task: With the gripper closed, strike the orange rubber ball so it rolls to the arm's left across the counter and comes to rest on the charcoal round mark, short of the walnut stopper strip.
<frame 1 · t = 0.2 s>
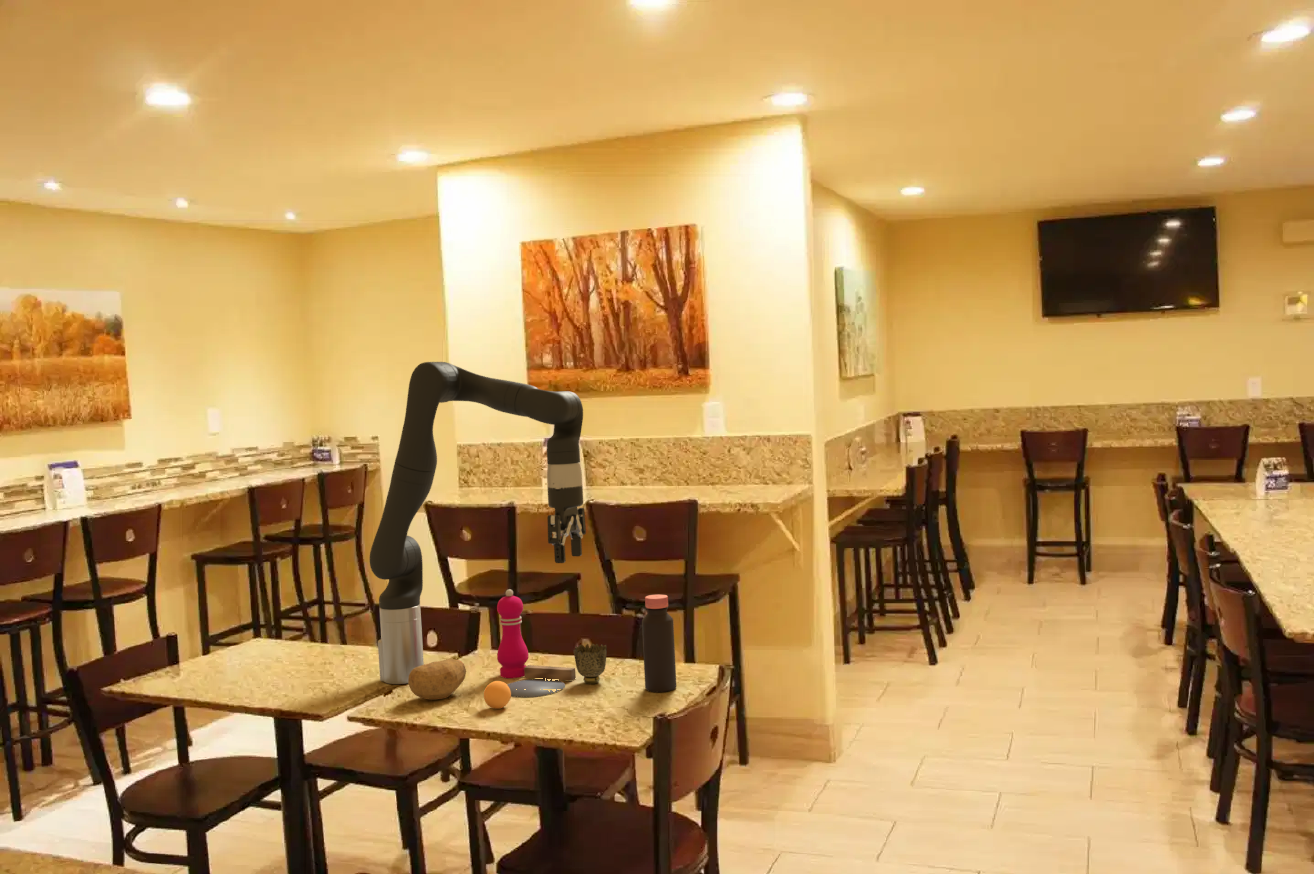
hand: (568, 559, 232), 29 cm above the table, tool pointing down, fingers open, 8 cm apart
ball: (497, 694, 224), on the table
potato: (439, 698, 234), on the table
stopper strip: (550, 678, 245), on the table
cup: (591, 683, 240), on the table
pepper mill: (513, 675, 250), on the table
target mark: (533, 688, 238), on the table
bottle: (661, 689, 233), on the table
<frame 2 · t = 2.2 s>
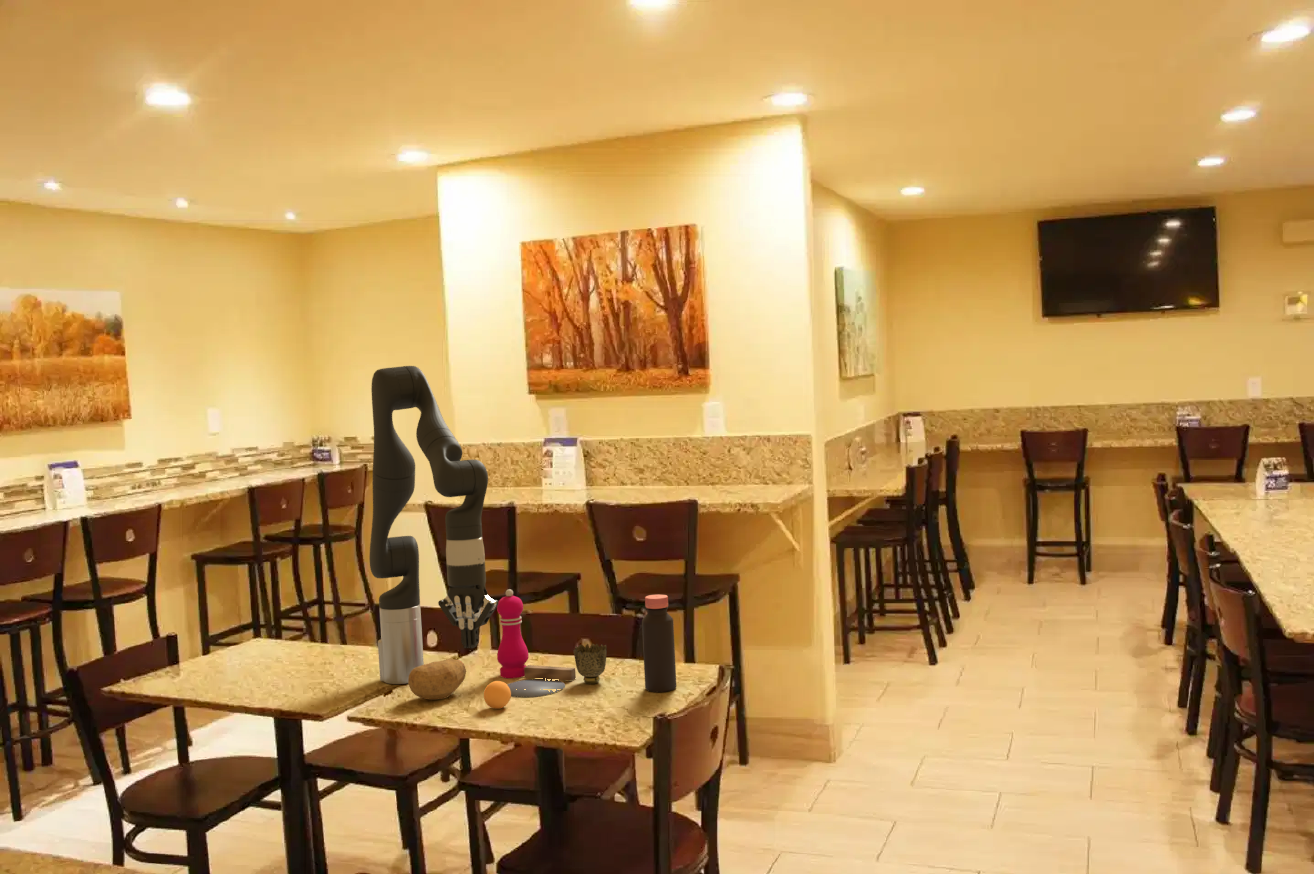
hand: (470, 646, 215), 15 cm above the table, tool pointing down, fingers closed
nothing on the table moved.
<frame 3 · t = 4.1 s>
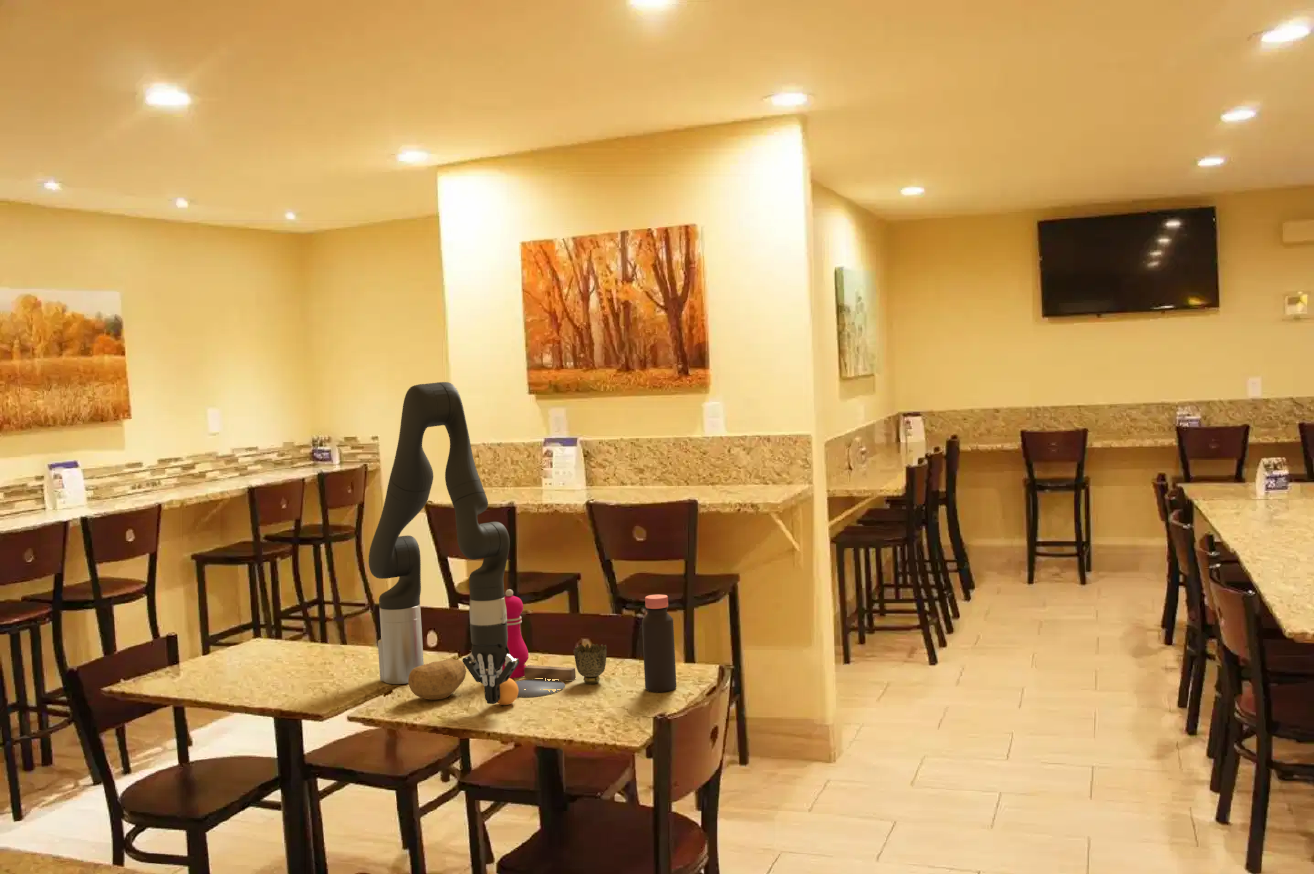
hand: (493, 702, 223), 1 cm above the table, tool pointing down, fingers closed
ball: (505, 691, 226), on the table, touching gripper
everything else where it was.
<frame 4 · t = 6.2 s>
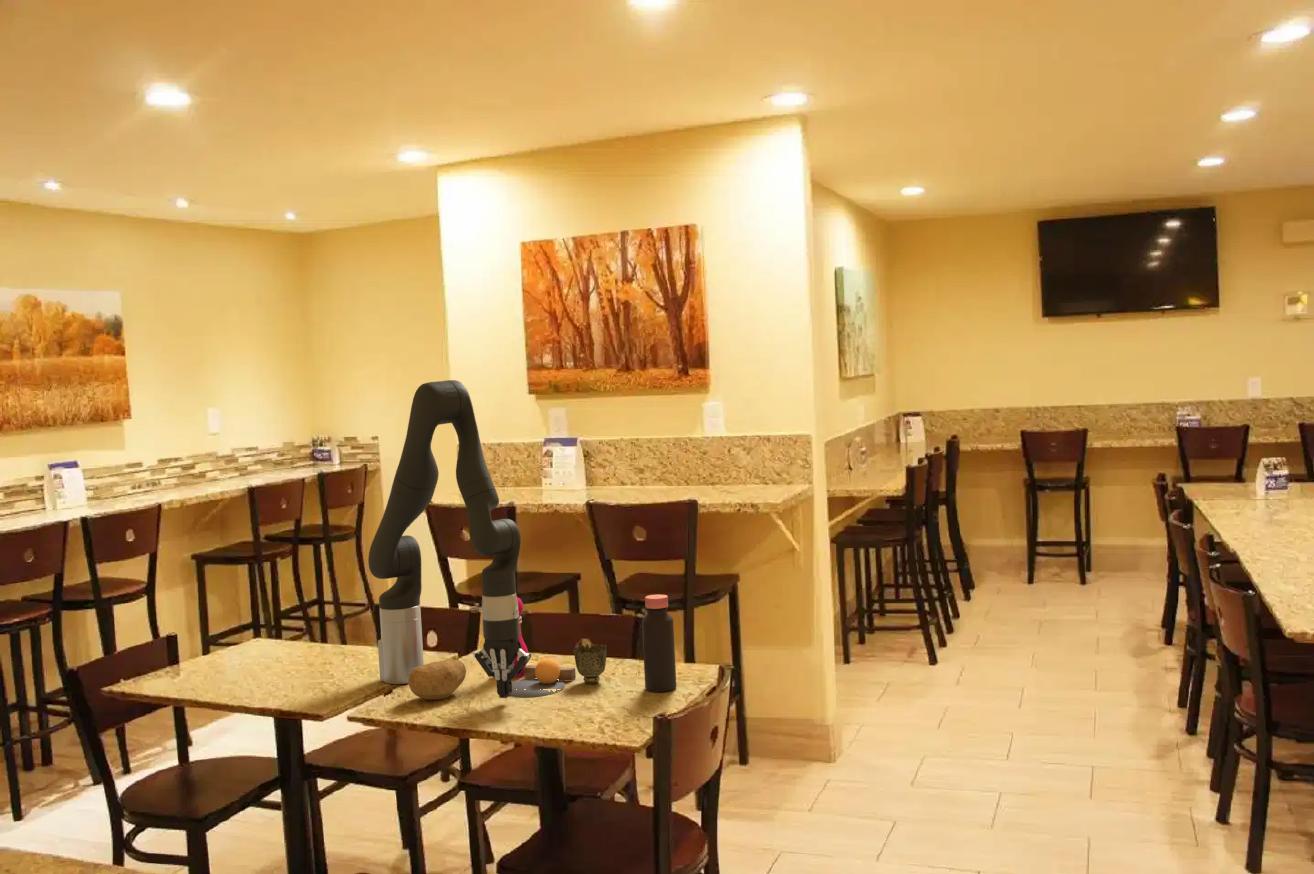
hand: (505, 696, 227), 2 cm above the table, tool pointing down, fingers closed
ball: (547, 671, 241), on the table
everything else where it was.
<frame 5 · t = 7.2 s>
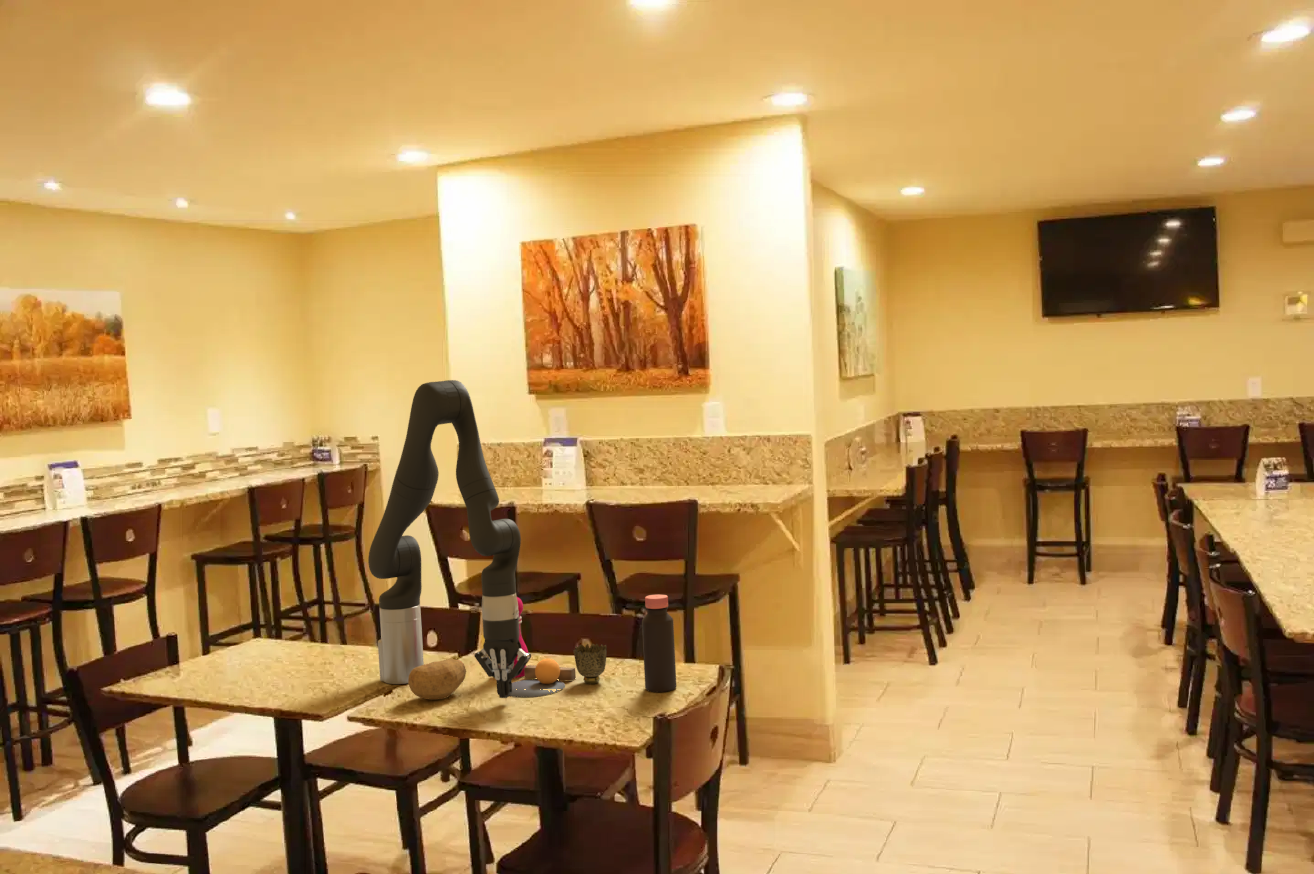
hand: (505, 696, 227), 2 cm above the table, tool pointing down, fingers closed
nothing on the table moved.
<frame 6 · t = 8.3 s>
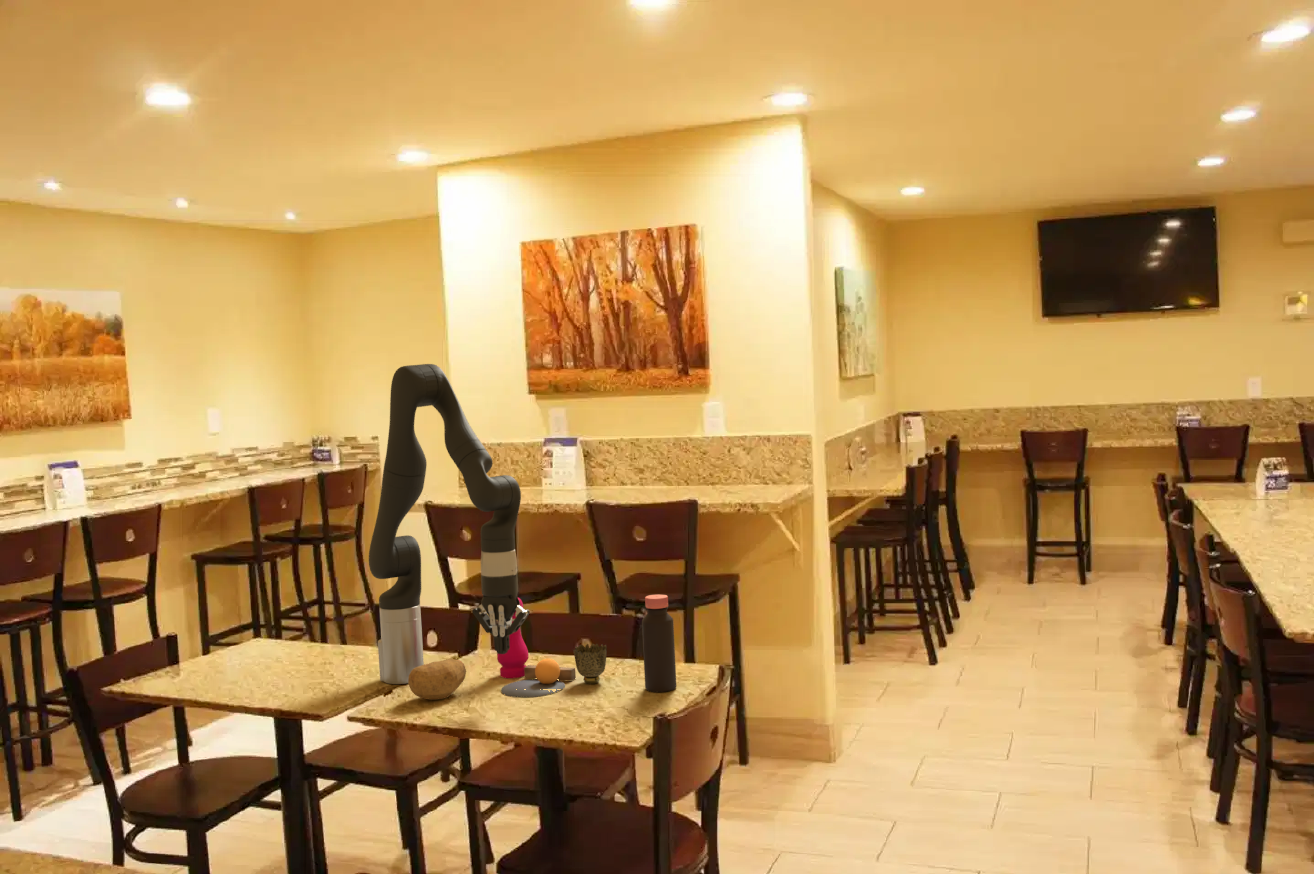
hand: (502, 653, 227), 11 cm above the table, tool pointing down, fingers closed
nothing on the table moved.
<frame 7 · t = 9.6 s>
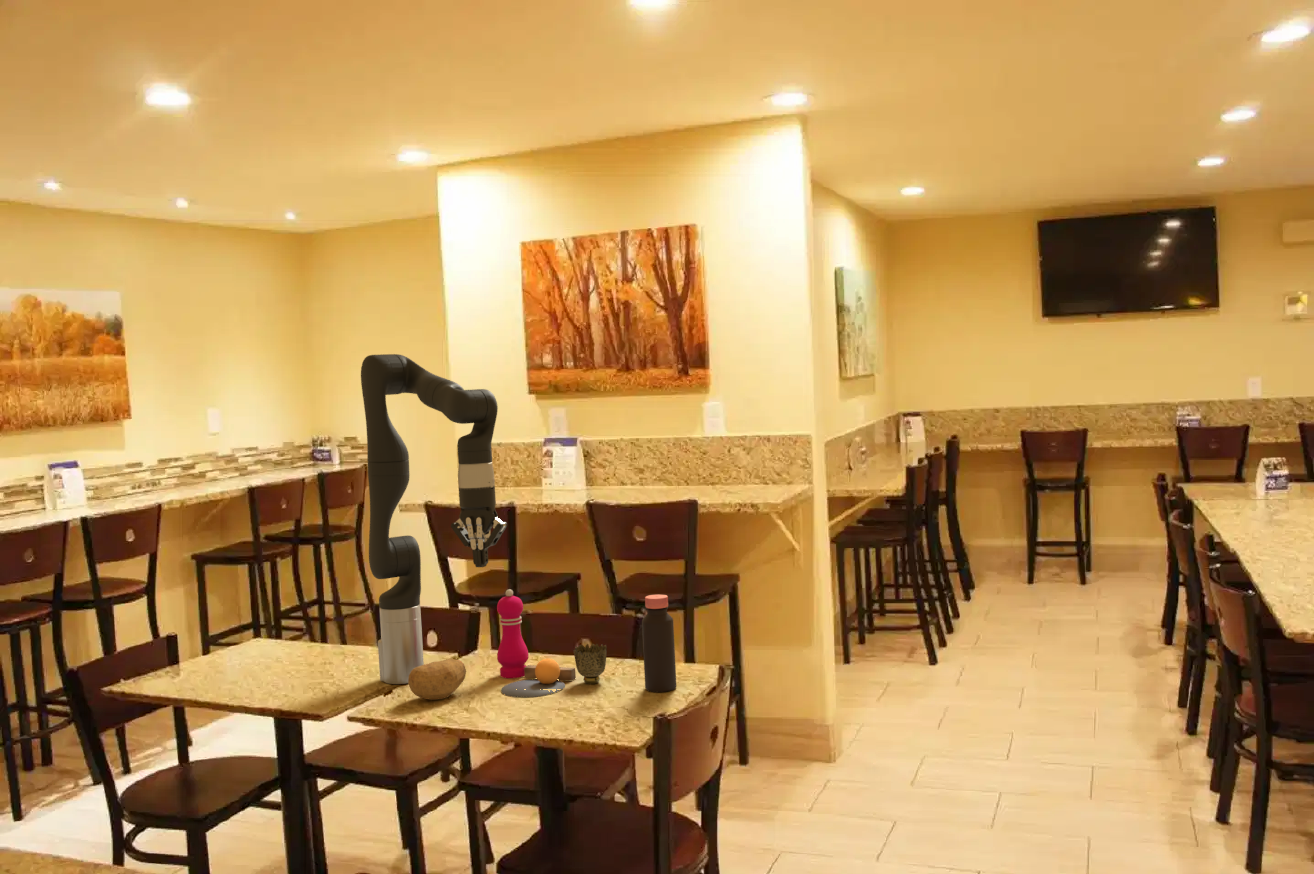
hand: (481, 566, 227), 29 cm above the table, tool pointing down, fingers closed
nothing on the table moved.
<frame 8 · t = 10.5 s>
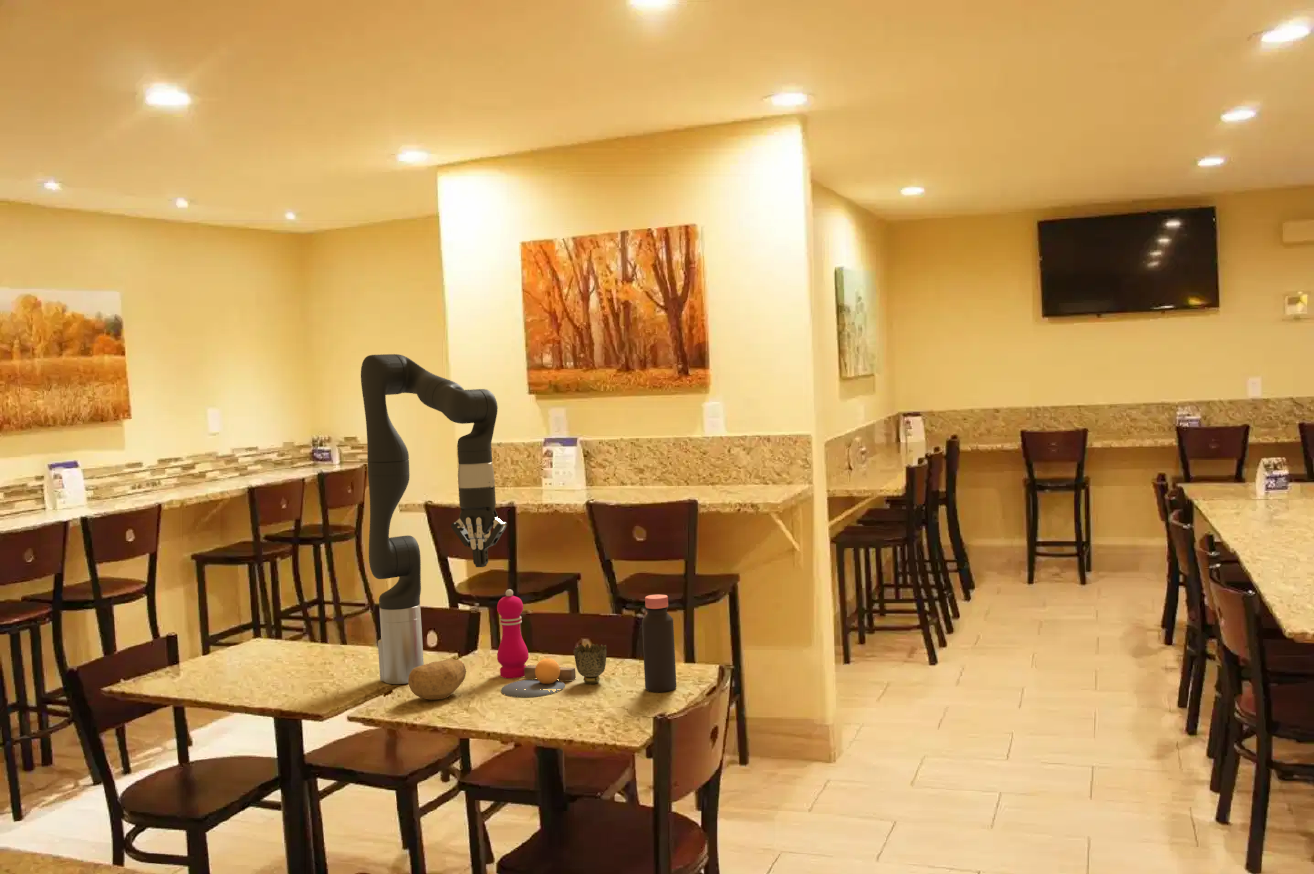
hand: (481, 566, 227), 29 cm above the table, tool pointing down, fingers closed
nothing on the table moved.
at the end: ball 4.4 cm from the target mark (horizontally); ball at rest at the end (0.0 cm/s); ball moved 19.1 cm from its start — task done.
